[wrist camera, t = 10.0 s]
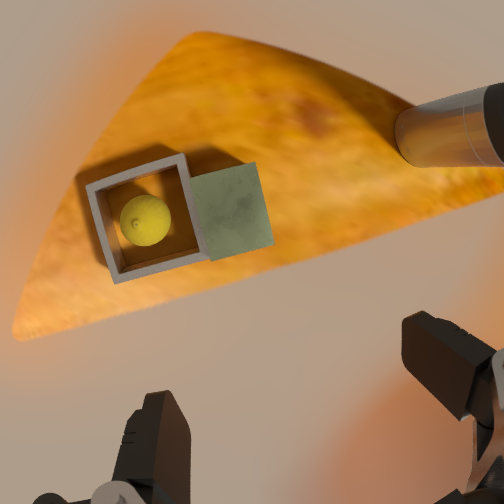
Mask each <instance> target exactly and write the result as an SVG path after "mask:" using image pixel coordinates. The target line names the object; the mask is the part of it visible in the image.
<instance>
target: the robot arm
mask: <svg viewBox="0 0 504 504" xmlns="http://www.w3.org/2000/svg"><path fill="white" fill-rule="evenodd" d="M394 134H395V140H396V143H397V147H398V149H399V151H400V153H401V154H402V156H403V157H404V158H405V159H406V160H407V161H408V162H409V163H410V164H412V165H413V166H416V167H420V168H427V167H504V83H498V84H494V85H490V86H485V87H481V88H477V89H473V90H470V91H466V92H463V93H459V94H455V95H452V96H449V97H445V98H442V99H438V100H435V101H432V102H428V103H425V104H422V105H419V106H415V107H412V108H409V109H406V110H404V111H403V112H401V113H400V114H399V116H398V117H397V120H396V123H395V133H394ZM401 355H402V360H403V363H404V366H405V367H406V369H407V370H408V371H409V372H410V373H411V374H412V375H413V376H414V377H415V378H416V379H417V380H418V381H419V382H420V383H421V384H422V385H423V386H424V387H425V388H426V389H428V390H429V392H430V393H432V394H433V395H434V396H435V397H436V398H437V399H438V400H439V401H440V402H441V403H442V404H443V405H444V406H445V407H446V408H447V409H448V410H449V411H450V412H451V413H452V414H453V415H454V416H455V417H456V418H457V419H458V420H459V421H460V422H461V421H462V420H463V419H465V418H466V417H468V416H469V415H470V414H472V415H473V416H474V420H473V453H472V454H473V455H472V469H471V474H470V477H469V479H468V483H467V486H466V491H465V493H464V494H461V493H460V492H459V491H458V489H455V490H454V491H453V492H451V493H450V494H448V495H447V496H445V497H444V498H442V499H441V500H439V501H437V502H436V503H434V504H504V348H503V349H501V350H499V351H496V350H495V349H493V348H492V347H490V346H489V345H487V344H486V343H484V342H483V341H481V340H479V339H478V338H476V337H474V336H473V335H472V334H468V332H467V331H465V330H464V329H460V327H458V326H457V325H456V324H454V323H452V322H451V321H448V320H444V319H440V318H435V317H433V316H431V315H430V314H428V313H426V312H425V311H420V312H417V313H415V314H413V315H411V316H408V317H406V318H404V319H403V321H402V352H401ZM124 434H125V435H123V438H122V445H121V446H120V449H119V453H118V457H117V461H116V465H115V469H114V473H113V477H112V480H111V481H110V482H107V483H105V484H103V485H101V486H100V487H98V488H97V489H96V491H95V492H94V493H93V495H92V498H91V499H88V500H83V501H77V502H72V503H68V502H66V500H64V499H63V498H62V497H61V496H59V495H57V494H54V493H46V494H43V495H41V496H39V497H38V498H37V499H36V500H35V501H34V502H33V504H190V467H191V466H190V465H191V462H190V461H191V433H190V428H189V425H188V423H187V421H186V419H185V417H184V415H183V413H182V412H181V410H180V408H179V406H178V404H177V402H176V400H175V398H174V397H173V395H172V393H171V392H170V391H169V390H165V391H159V392H153V393H147V394H146V396H145V399H144V403H143V407H142V409H140V410H136V411H135V412H134V413H133V414H132V416H131V417H130V418H129V419H128V421H127V424H126V427H125V431H124Z"/></svg>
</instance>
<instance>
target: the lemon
mask: <svg viewBox="0 0 504 504" xmlns="http://www.w3.org/2000/svg"><path fill="white" fill-rule="evenodd" d="M170 224H171V215H170V211H169V209H168V207H167V205H166V204H165V203H164V202H163V201H162V200H161V199H160V198H158V197H156V196H153V195H140V196H137V197H135V198H133V199H131V200H130V201H129V202H128V203H127V204H126V205H125V206H124V208H123V210H122V212H121V215H120V228H121V231H122V233H123V235H124V236H125V238H126V239H127V240H128V241H130V242H131V243H133V244H135V245H139V246H150V245H153V244H156V243H158V242H159V241H160V240H162V239H163V238H164V237H165V235H166V234H167V232H168V230H169V228H170Z"/></svg>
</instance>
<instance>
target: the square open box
mask: <svg viewBox="0 0 504 504" xmlns="http://www.w3.org/2000/svg"><path fill="white" fill-rule="evenodd" d="M176 167H178V171H179V175H180V179H181V183H182V187H183V191H184V195H185V199H186V203H187V206H188V210H189V214H190V218H191V221H192V225H193V229H194V232H195V236H196V239H197V243H198V246H199V247H196V248H192V249H189V250H185V251H181V252H178V253H174V254H171V255H167V256H163V257H160V258H156V259H153V260H149V261H145V262H142V263H138V264H135V265H131V266H128V267H127V266H126V263H125V260H124V257H123V254H122V250H121V247H120V244H119V241H118V237H117V234H116V230H115V227H114V223H113V220H112V216H111V213H110V209H109V205H108V201H107V197H106V193H105V190H108V189H111V188H114V187H117V186H119V185H122V184H125V183H128V182H131V181H134V180H137V179H140V178H143V177H147V176H150V175H153V174H156V173H159V172H163V171H166V170H169V169H173V168H176ZM85 186H86V191H87V195H88V199H89V203H90V207H91V211H92V215H93V218H94V222H95V226H96V229H97V233H98V236H99V239H100V243H101V246H102V249H103V252H104V255H105V259H106V262H107V265H108V268H109V270H110V273H111V276H112V279H113V282H114V285H115V284H118V283H122V282H126V281H129V280H133V279H137V278H140V277H144V276H148V275H151V274H155V273H159V272H162V271H166V270H170V269H173V268H177V267H181V266H184V265H188V264H192V263H196V262H199V261H203V260H207V259H211V261H215V260H219V259H222V258H226V257H230V256H234V255H237V254H241V253H245V252H249V251H252V250H256V249H260V248H263V247H267V246H271V245H275V243H274V239H273V234H272V230H271V226H270V222H269V217H268V213H267V209H266V205H265V200H264V196H263V192H262V188H261V184H260V180H259V176H258V171H257V167H256V163H255V162H252V163H248V164H243V165H239V166H235V167H231V168H227V169H223V170H219V171H215V172H211V173H207V174H203V175H200V176H196V177H191V173H190V169H189V165H188V161H187V157H186V155H185V154H184V153H180V154H177V155H173V156H170V157H167V158H163V159H160V160H157V161H153V162H150V163H147V164H144V165H141V166H138V167H135V168H132V169H129V170H126V171H123V172H120V173H118V174H115V175H112V176H109V177H106V178H104V179H101V180H98V181H96V182H93V183H91V184H88V185H85Z"/></svg>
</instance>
